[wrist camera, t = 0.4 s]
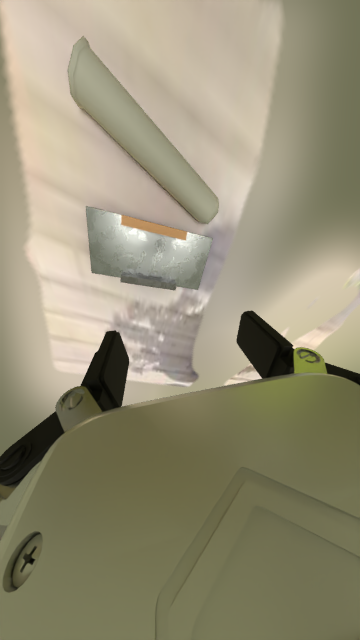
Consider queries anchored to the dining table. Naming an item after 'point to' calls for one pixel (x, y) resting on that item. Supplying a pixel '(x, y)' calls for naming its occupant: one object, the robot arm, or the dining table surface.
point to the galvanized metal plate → (144, 253)
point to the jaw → (153, 227)
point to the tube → (136, 131)
